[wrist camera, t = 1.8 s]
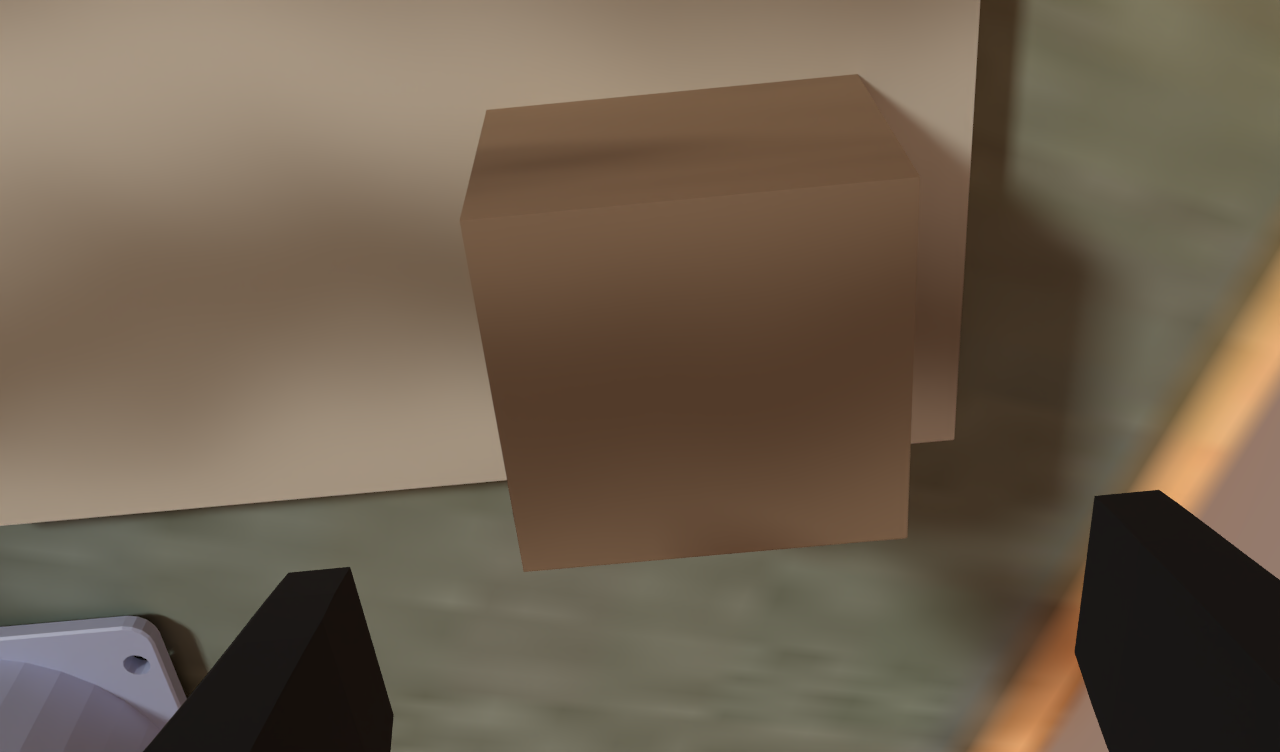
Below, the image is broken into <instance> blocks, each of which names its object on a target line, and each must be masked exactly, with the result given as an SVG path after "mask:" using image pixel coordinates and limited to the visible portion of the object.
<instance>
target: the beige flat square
mask: <svg viewBox="0 0 1280 752" xmlns="http://www.w3.org/2000/svg"><path fill="white" fill-rule="evenodd" d="M979 15H980V0H0V526H3V525H14V524H25V523H37V522H48V521H59V520H70V519H81V518H92V517H103V516H114V515H125V514H136V513H148V512H159V511H170V510H181V509H192V508H203V507H214V506H225V505H236V504H247V503H258V502H270V501H281V500H292V499H303V498H314V497H325V496H336V495H347V494H358V493H369V492H381V491H392V490H403V489H414V488H425V487H436V486H447V485H458V484H469V483H480V482H492V481H503V480H507V477H506V472H505V466H504V461H503V455H502V450H501V444H500V439H499V433H498V428H497V422H496V417H495V411H494V406H493V401H492V395H491V390H490V384H489V379H488V373H487V368H486V362H485V357H484V351H483V346H482V341H481V335H480V330H479V324H478V319H477V313H476V308H475V302H474V297H473V291H472V286H471V280H470V275H469V270H468V264H467V259H466V253H465V248H464V242H463V237H462V231H461V226H460V217H461V212H462V208H463V204H464V200H465V196H466V192H467V188H468V184H469V180H470V175H471V171H472V167H473V163H474V159H475V155H476V151H477V147H478V142H479V138H480V134H481V130H482V126H483V122H484V118H485V114H486V110H491V109H501V108H512V107H522V106H532V105H543V104H553V103H563V102H574V101H584V100H594V99H605V98H615V97H625V96H636V95H646V94H656V93H667V92H677V91H687V90H698V89H708V88H718V87H729V86H739V85H749V84H760V83H770V82H781V81H791V80H801V79H812V78H822V77H832V76H843V75H853V74H858V76H859V77H860V79H861V80H862V82H863V84H864V85H865V87H866V89H867V90H868V92H869V94H870V95H871V97H872V98H873V100H874V102H875V103H876V105H877V107H878V108H879V110H880V112H881V113H882V115H883V117H884V118H885V120H886V121H887V123H888V125H889V126H890V128H891V130H892V131H893V133H894V135H895V136H896V138H897V139H898V141H899V143H900V144H901V146H902V148H903V149H904V151H905V153H906V154H907V156H908V157H909V159H910V161H911V162H912V164H913V166H914V167H915V169H916V171H917V172H918V174H919V175H920V200H919V228H918V255H917V283H916V310H915V337H914V365H913V392H912V420H911V444H913V443H924V442H935V441H947V440H954V435H955V418H956V401H957V384H958V367H959V351H960V334H961V317H962V300H963V284H964V267H965V250H966V233H967V217H968V200H969V183H970V166H971V150H972V133H973V116H974V99H975V83H976V66H977V49H978V32H979Z"/></svg>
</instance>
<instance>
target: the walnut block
mask: <svg viewBox="0 0 1280 752" xmlns="http://www.w3.org/2000/svg"><path fill="white" fill-rule="evenodd" d="M919 200H920V175H919V174H918V172H917V171H916V169H915V167H914V166H913V164H912V162H911V161H910V159H909V157H908V156H907V154H906V153H905V151H904V149H903V148H902V146H901V144H900V143H899V141H898V139H897V138H896V136H895V135H894V133H893V131H892V130H891V128H890V126H889V125H888V123H887V121H886V120H885V118H884V117H883V115H882V113H881V112H880V110H879V108H878V107H877V105H876V103H875V102H874V100H873V98H872V97H871V95H870V94H869V92H868V90H867V89H866V87H865V85H864V84H863V82H862V80H861V79H860V77H859V76H858V74H853V75H843V76H832V77H822V78H812V79H801V80H791V81H781V82H770V83H760V84H749V85H739V86H729V87H718V88H708V89H698V90H687V91H677V92H667V93H656V94H646V95H636V96H625V97H615V98H605V99H594V100H584V101H574V102H563V103H553V104H543V105H532V106H522V107H512V108H501V109H491V110H486V114H485V118H484V122H483V126H482V130H481V134H480V138H479V142H478V147H477V151H476V155H475V159H474V163H473V167H472V171H471V175H470V180H469V184H468V188H467V192H466V196H465V200H464V204H463V208H462V212H461V217H460V226H461V231H462V237H463V242H464V248H465V253H466V259H467V264H468V270H469V275H470V280H471V286H472V291H473V297H474V302H475V308H476V313H477V319H478V324H479V330H480V335H481V341H482V346H483V351H484V357H485V362H486V368H487V373H488V379H489V384H490V390H491V395H492V401H493V406H494V411H495V417H496V422H497V428H498V433H499V439H500V444H501V450H502V455H503V461H504V466H505V472H506V477H507V482H508V488H509V493H510V499H511V504H512V510H513V515H514V521H515V526H516V532H517V537H518V543H519V548H520V553H521V559H522V564H523V570H524V572H528V571H539V570H551V569H562V568H573V567H584V566H596V565H607V564H618V563H630V562H641V561H652V560H664V559H675V558H686V557H698V556H709V555H720V554H731V553H743V552H754V551H765V550H777V549H788V548H799V547H811V546H822V545H833V544H845V543H856V542H867V541H878V540H890V539H901V538H907V529H908V502H909V475H910V447H911V420H912V392H913V365H914V337H915V310H916V283H917V255H918V228H919Z"/></svg>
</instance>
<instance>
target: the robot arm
mask: <svg viewBox="0 0 1280 752" xmlns="http://www.w3.org/2000/svg"><path fill="white" fill-rule="evenodd" d="M133 655H134V656H141V657H143V658H145V659H147V660H140V659H138V658H136V657H134V656H133ZM1075 655H1076V658H1077V661H1078V664H1079V667H1080V670H1081V673H1082V676H1083V679H1084V682H1085V685H1086V688H1087V691H1088V694H1089V697H1090V700H1091V703H1092V706H1093V709H1094V712H1095V715H1096V717H1097V720H1098V723H1099V726H1100V728H1101V731H1102V734H1103V737H1104V739H1105V742H1106V745H1107V748H1108V750H1109V752H1280V580H1279V579H1278V578H1276V577H1275V576H1274V575H1272V574H1271V573H1270V572H1268V571H1267V570H1266V569H1264V568H1263V567H1262V566H1260V565H1259V564H1258V563H1256V562H1255V561H1254V560H1252V559H1251V558H1249V557H1248V556H1247V555H1246V554H1244V553H1243V552H1242V551H1240V550H1239V549H1238V548H1236V547H1235V546H1234V545H1232V544H1231V543H1230V542H1228V541H1227V540H1226V539H1224V538H1223V537H1222V536H1221V535H1219V534H1218V533H1217V532H1215V531H1214V530H1213V529H1211V528H1210V527H1209V526H1207V525H1206V524H1205V523H1203V522H1202V521H1201V520H1199V519H1198V518H1197V517H1195V516H1194V515H1193V514H1191V513H1190V512H1189V511H1187V510H1186V509H1185V508H1183V507H1182V506H1181V505H1179V504H1178V503H1177V502H1175V501H1174V500H1172V499H1171V498H1170V497H1168V496H1167V495H1165V494H1164V493H1163V492H1161V491H1160V490H1153V491H1143V492H1132V493H1122V494H1111V495H1101V496H1095V498H1094V505H1093V513H1092V521H1091V529H1090V537H1089V544H1088V552H1087V560H1086V568H1085V575H1084V583H1083V591H1082V599H1081V607H1080V614H1079V622H1078V630H1077V638H1076V645H1075ZM392 727H393V712H392V708H391V705H390V701H389V698H388V695H387V691H386V688H385V684H384V681H383V678H382V674H381V671H380V667H379V664H378V661H377V657H376V654H375V650H374V647H373V643H372V640H371V637H370V633H369V630H368V626H367V623H366V620H365V616H364V613H363V609H362V606H361V603H360V599H359V596H358V592H357V589H356V586H355V582H354V579H353V575H352V572H351V569H350V567H344V568H334V569H323V570H313V571H302V572H292V573H288V574H287V575H286V576H285V578H284V579H283V580H282V581H281V582H280V583H279V585H278V586H277V587H276V588H275V590H274V591H273V592H272V593H271V594H270V596H269V597H268V598H267V599H266V601H265V602H264V603H263V604H262V606H261V607H260V608H259V609H258V611H257V612H256V613H255V614H254V616H253V617H252V618H251V619H250V621H249V622H248V623H247V625H246V626H245V627H244V628H243V630H242V631H241V632H240V633H239V635H238V636H237V637H236V639H235V640H234V641H233V642H232V644H231V645H230V646H229V647H228V649H227V650H226V651H225V652H224V654H223V655H222V656H221V657H220V659H219V660H218V661H217V662H216V664H215V665H214V666H213V667H212V669H211V670H210V671H209V673H208V674H207V675H206V676H205V678H204V679H203V680H202V681H201V683H200V684H199V685H198V686H197V687H196V689H195V690H194V691H193V692H192V693H191V695H190V696H189V697H188V698H186V696H185V693H184V691H183V688H182V686H181V683H180V681H179V679H178V676H177V674H176V671H175V669H174V666H173V664H172V661H171V659H170V656H169V654H168V651H167V649H166V647H165V644H164V642H163V639H162V637H161V634H160V632H159V631H158V629H157V628H156V626H155V625H154V624H152V623H151V622H150V621H148V620H147V619H144V618H141V617H138V616H119V617H108V618H96V619H85V620H74V621H62V622H51V623H40V624H28V625H17V626H6V627H0V752H390V750H391V738H392Z"/></svg>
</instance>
